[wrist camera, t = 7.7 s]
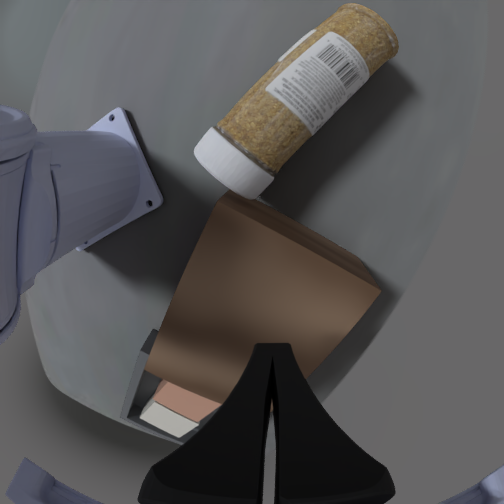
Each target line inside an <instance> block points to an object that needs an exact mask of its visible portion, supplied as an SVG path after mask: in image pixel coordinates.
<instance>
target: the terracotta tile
mask: <svg viewBox="0 0 504 504" xmlns="http://www.w3.org/2000/svg"><path fill="white" fill-rule="evenodd" d="M153 400H155V401H157V402H159V403H161V404H162V405H164V406H166V407H168V408H170V409H172V410H174V411H176V412H178V413H180V414H182V415H184V416H186V417H188V418H190V419H192V420H194V421H196V422H198V421H200V420H201V419H203V418H204V417H205V416H207V415H208V414H210V413H211V412H212V411H214V410H215V409H216V408H218V407H219V406H220V405H222V404H220V403H217V402H214V401H212V400H209V399H207V398H204V397H202V396H199V395H197V394H195V393H192V392H190V391H188V390H185V389H183V388H181V387H179V386H176V385H174V384H172V383H170V382H168V381H166V380H164V379H162V380H161V381H160V383H159V385H158V387H157V390H156V392H155V394H154V397H153Z"/></svg>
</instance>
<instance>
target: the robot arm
mask: <svg viewBox="0 0 504 504" xmlns="http://www.w3.org/2000/svg"><path fill="white" fill-rule="evenodd" d="M113 115H114V116H115V119H114V120H113V121H112V116H113ZM149 200H151V201H152V204H153V205H152V206H149V204H148V201H149ZM162 203H163V196H162V194H161V192H160V190H159V188H158V186H157V184H156V181H155V179H154V177H153V175H152V173H151V171H150V168H149V166H148V164H147V162H146V159H145V157H144V155H143V153H142V150H141V148H140V146H139V143H138V141H137V139H136V136H135V134H134V132H133V129H132V127H131V124H130V122H129V120H128V117H127V115H126V112H125V110H124V109H123V108H120V107H119V108H115V109H114V110H113V111H111V112H110V113H108V114H107V115H106V116H104V117H103V118H102V119H101V120H99V121H98V122H97V123H95V124H94V125H93V126H92V127H90V128H89V129H88V130H87V131H47V132H37V128H36V127H35V125H34V124H33V123H32V121H31V119H30V117H29V115H28V114H27V113H25V112H24V111H22V110H19V109H17V108H14V107H10V106H6V105H0V345H1V344H2V343H3V342H4V341H5V340H6V339H7V338H8V337H9V336H10V335H11V333H12V332H13V330H14V329H15V327H16V325H17V322H18V319H19V316H20V310H21V304H20V303H21V300H20V295H21V294H22V293H24V292H25V291H26V290H28V289H29V288H30V287H32V286H33V285H34V279H35V276H36V274H37V273H38V272H40V271H41V270H42V269H44V268H46V267H47V266H49V265H50V264H52V263H53V262H55V261H56V260H58V259H59V258H61V257H62V256H64V255H65V254H67V253H68V252H70V251H72V250H73V249H75V248H76V249H77V250H78V251H82V250H84V249H85V248H87V247H88V246H90V245H92V244H93V243H95V242H97V241H98V240H100V239H102V238H103V237H105V236H107V235H109V234H110V233H112V232H114V231H115V230H117V229H119V228H121V227H122V226H124V225H126V224H128V223H130V222H131V221H133V220H135V219H137V218H139V217H141V216H142V215H144V214H146V213H148V212H150V211H152V210H154V209H156V208H158V207H159V206H161V205H162ZM86 241H88V243H87V242H86ZM271 403H272V404H273V416H274V427H275V439H276V473H275V497H274V504H384V503H386V502H387V501H388V500H390V499H391V498H392V497H393V496H394V495H395V486H394V483H393V480H392V478H391V476H390V473H389V471H388V469H387V468H386V467H385V466H384V465H382V464H381V463H379V462H378V461H376V460H375V459H374V458H373V457H371V456H370V455H369V454H367V453H366V452H365V451H364V450H363V449H362V448H360V447H359V446H358V445H357V444H356V443H355V442H354V441H353V440H351V438H350V437H349V436H348V435H347V434H346V433H345V432H344V431H343V430H341V428H340V427H339V426H338V425H337V424H336V423H335V422H334V421H333V419H332V418H331V417H330V416H329V414H328V413H327V412H326V410H325V409H324V408H323V406H322V405H321V404H320V402H319V401H318V399H317V398H316V396H315V395H314V393H313V392H312V390H311V388H310V387H309V385H308V383H307V381H306V380H305V378H304V376H303V374H302V372H301V370H300V368H299V366H298V364H297V361H296V359H295V356H294V354H293V351H292V347H291V344H289V343H257V344H255V345H254V349H253V352H252V355H251V357H250V359H249V362H248V364H247V366H246V368H245V370H244V372H243V373H242V375H241V377H240V379H239V381H238V382H237V384H236V385H235V387H234V388H233V390H232V392H231V393H230V395H229V396H228V397H227V399H226V400H225V402H224V403H223V404H222V405H221V407H220V408H219V409H218V410H217V412H216V413H215V414H214V415H213V416H212V417H211V418H210V420H209V421H208V422H207V423H206V424H205V425H204V426H203V427H202V428H201V429H200V430H199V431H198V432H197V433H196V434H195V435H193V436H192V437H191V438H190V439H189V440H188V441H186V442H185V443H184V444H183V445H182V446H180V447H179V448H178V449H177V450H175V451H174V452H172V453H171V454H170V455H168V456H167V457H165V458H164V459H162V460H161V461H159V462H157V463H156V464H154V465H153V466H152V467H151V469H150V470H149V472H148V473H147V475H146V477H145V479H144V481H143V483H142V486H141V489H140V493H139V496H138V502H139V503H140V504H262V501H263V482H264V462H265V460H264V459H265V447H266V439H267V432H268V425H269V418H270V410H271ZM6 496H7V497H8V498H9V499H10V500H12V501H13V502H14V503H15V504H103V503H101V502H99V501H96V500H94V499H92V498H90V497H88V496H86V495H84V494H82V493H80V492H78V491H76V490H74V489H72V488H70V487H68V486H66V485H65V484H63V483H61V482H59V481H58V480H56V479H55V478H54V477H53V476H51V475H50V474H49V473H48V472H46V471H45V470H43V469H42V468H41V467H39V466H37V465H36V464H35V463H33V462H32V461H30V460H29V459H27V458H24V459H23V461H22V463H21V464H20V466H19V468H18V470H17V472H16V474H15V476H14V478H13V480H12V482H11V483H10V485H9V487H8V489H7V491H6ZM438 504H504V465H502V466H501V467H499V468H498V469H496V470H495V471H493V472H492V473H490V474H489V475H487V476H486V477H485V478H483V479H482V480H481V481H480V482H479V483H477V484H476V485H474V486H472V487H471V488H468V489H467V490H465V491H463V492H461V493H459V494H457V495H455V496H453V497H451V498H449V499H447V500H445V501H442V502H440V503H438Z"/></svg>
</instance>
